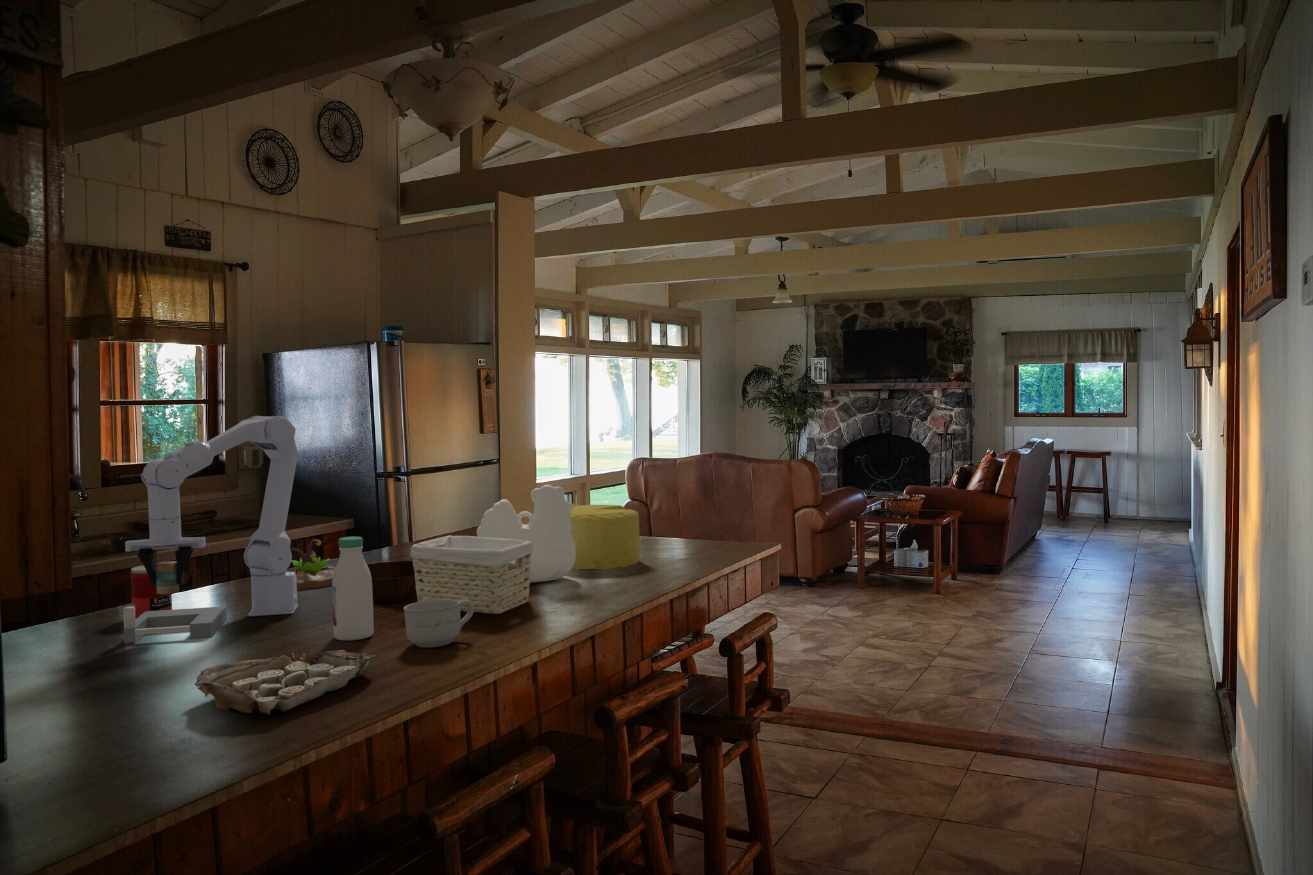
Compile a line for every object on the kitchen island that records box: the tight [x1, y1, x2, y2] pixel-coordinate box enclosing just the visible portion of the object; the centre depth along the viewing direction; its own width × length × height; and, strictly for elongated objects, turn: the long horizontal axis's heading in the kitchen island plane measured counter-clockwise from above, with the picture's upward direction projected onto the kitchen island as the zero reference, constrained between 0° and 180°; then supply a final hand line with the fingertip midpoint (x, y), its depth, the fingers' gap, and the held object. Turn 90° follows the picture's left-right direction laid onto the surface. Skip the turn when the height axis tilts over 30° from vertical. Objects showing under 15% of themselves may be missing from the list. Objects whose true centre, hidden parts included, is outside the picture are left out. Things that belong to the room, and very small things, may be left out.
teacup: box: [403, 599, 475, 649], centre depth 183 cm, size 14×11×8 cm
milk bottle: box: [331, 536, 375, 642], centre depth 188 cm, size 8×8×20 cm
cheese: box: [570, 504, 641, 570], centre depth 268 cm, size 26×26×15 cm
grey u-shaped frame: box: [123, 605, 228, 644], centre depth 195 cm, size 16×16×7 cm
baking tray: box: [194, 649, 377, 715], centre depth 155 cm, size 30×22×5 cm
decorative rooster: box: [476, 484, 576, 584], centre depth 242 cm, size 25×16×25 cm, turn 75°
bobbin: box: [155, 560, 180, 594], centre depth 192 cm, size 4×4×6 cm
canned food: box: [130, 564, 173, 619], centre depth 209 cm, size 8×8×11 cm
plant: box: [287, 539, 336, 591], centre depth 245 cm, size 20×20×11 cm
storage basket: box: [410, 534, 533, 615], centre depth 215 cm, size 24×16×15 cm
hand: (167, 584), depth 192 cm, fingers closed on bobbin, 4 cm apart
